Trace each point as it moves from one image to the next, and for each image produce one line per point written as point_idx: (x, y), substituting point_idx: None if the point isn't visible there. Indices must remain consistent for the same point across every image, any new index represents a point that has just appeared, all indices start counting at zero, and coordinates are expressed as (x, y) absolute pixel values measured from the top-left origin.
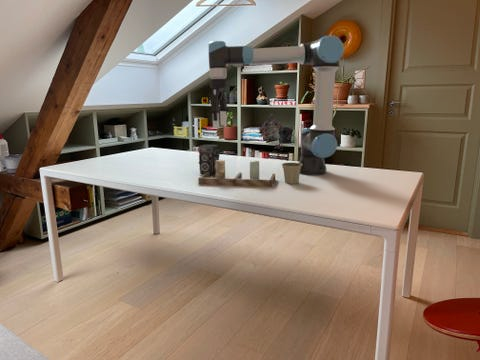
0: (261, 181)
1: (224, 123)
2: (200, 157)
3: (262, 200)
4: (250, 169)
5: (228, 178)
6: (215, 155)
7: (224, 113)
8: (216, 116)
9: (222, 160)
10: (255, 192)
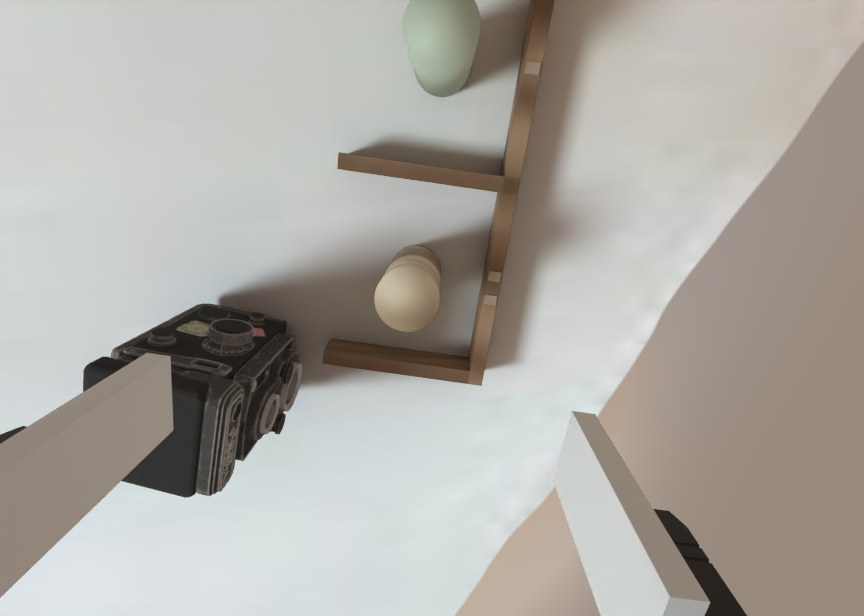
0: (552, 7)
1: (156, 392)
2: (250, 441)
3: (824, 9)
4: (460, 75)
5: (497, 224)
6: (203, 354)
7: (10, 495)
8: (715, 572)
9: (397, 285)
10: (662, 55)
